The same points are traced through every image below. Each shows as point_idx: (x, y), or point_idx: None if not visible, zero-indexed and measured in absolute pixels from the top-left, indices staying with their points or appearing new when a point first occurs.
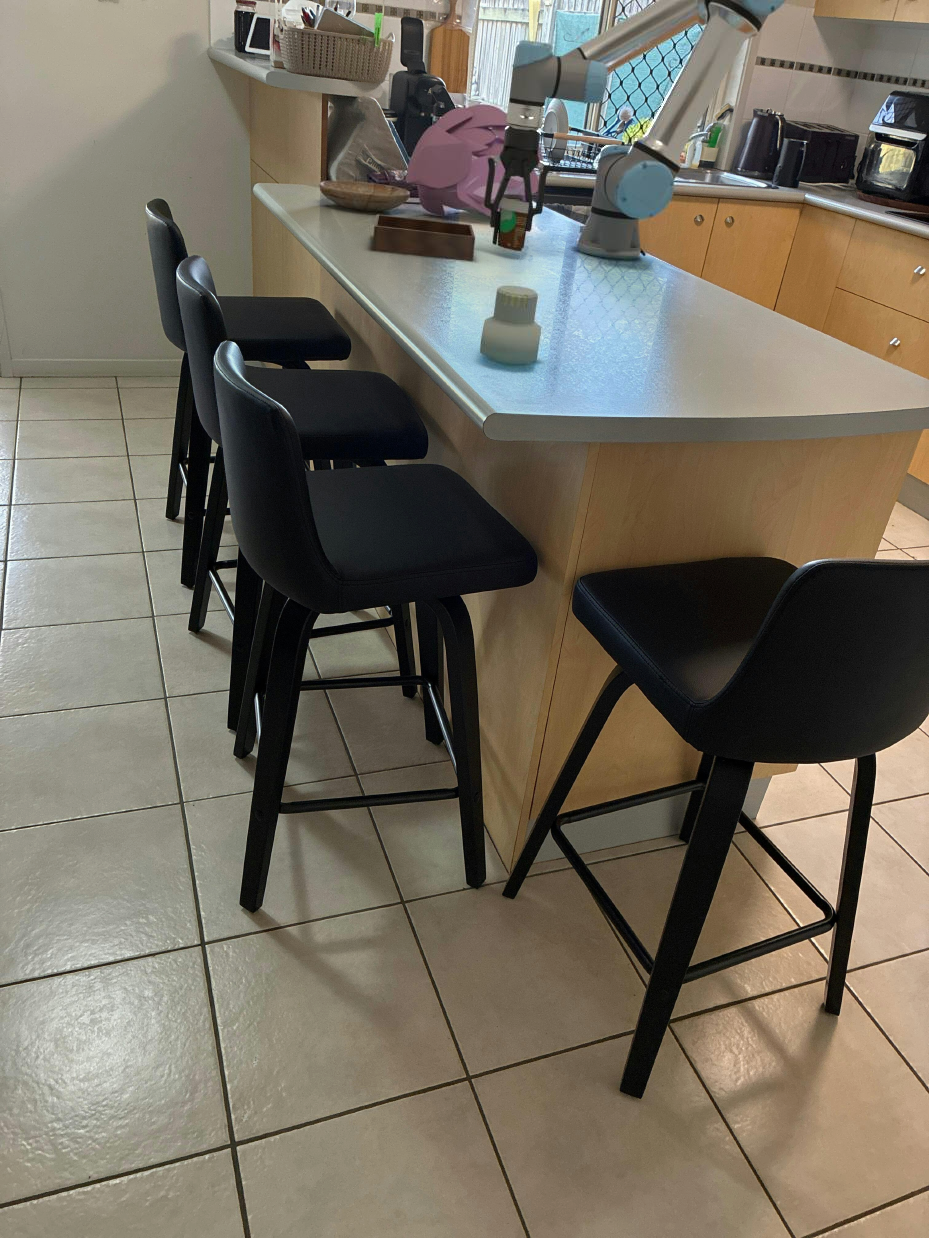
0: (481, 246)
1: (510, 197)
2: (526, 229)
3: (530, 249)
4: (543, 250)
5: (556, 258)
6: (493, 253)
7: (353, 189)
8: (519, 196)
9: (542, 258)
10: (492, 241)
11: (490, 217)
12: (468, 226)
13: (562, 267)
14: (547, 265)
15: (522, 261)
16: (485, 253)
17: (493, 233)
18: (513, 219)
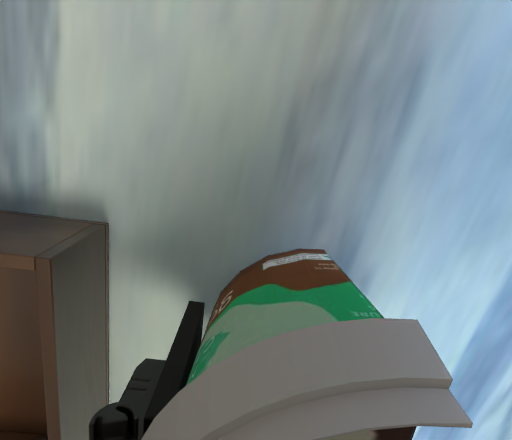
0: (170, 168)
1: (269, 421)
2: None
3: (415, 137)
4: (481, 134)
5: (468, 291)
6: (204, 296)
7: None
8: (398, 414)
9: (400, 312)
10: (188, 303)
11: (121, 399)
12: (38, 266)
13: (422, 426)
14: None
15: None
16: (170, 308)
17: (180, 324)
18: None
